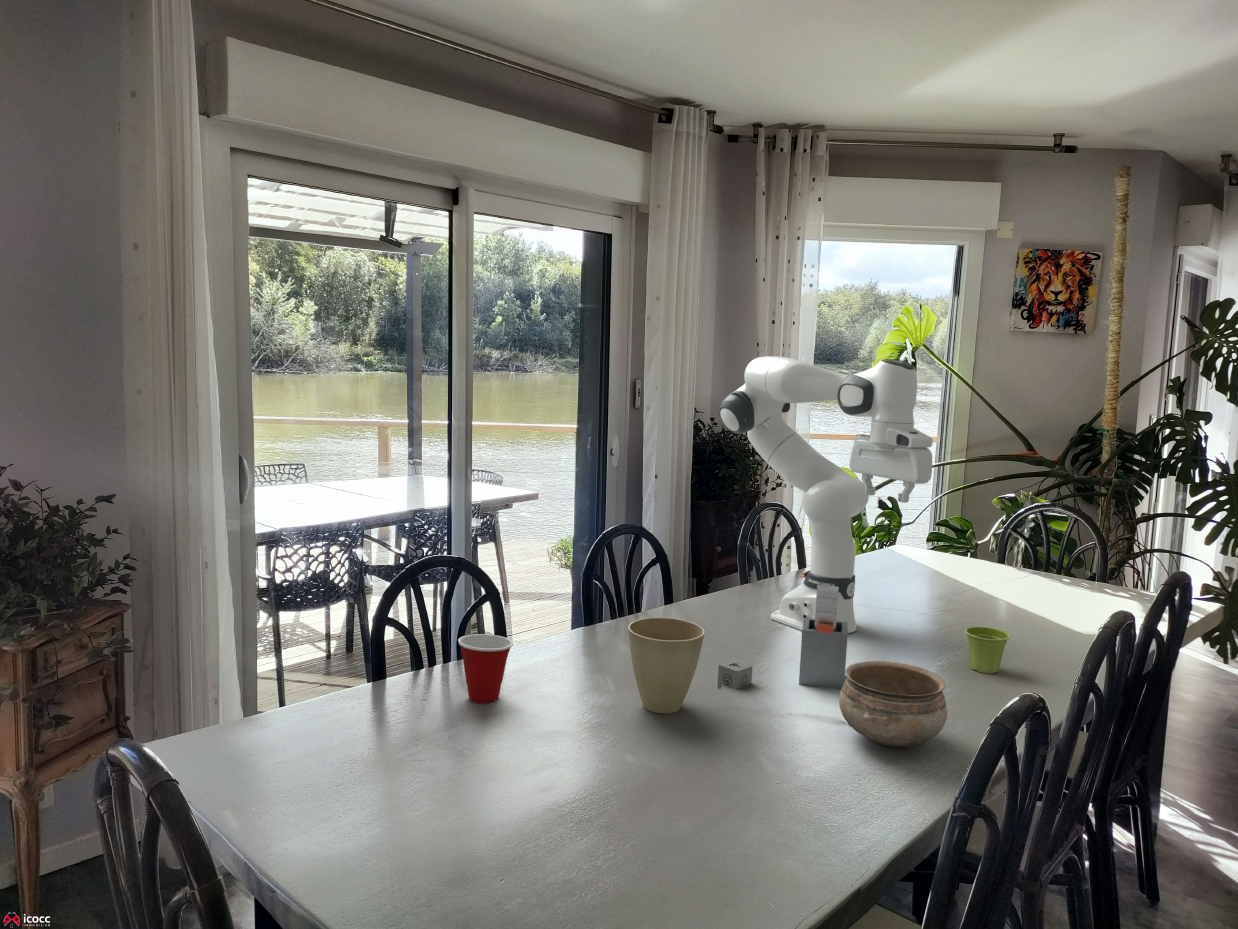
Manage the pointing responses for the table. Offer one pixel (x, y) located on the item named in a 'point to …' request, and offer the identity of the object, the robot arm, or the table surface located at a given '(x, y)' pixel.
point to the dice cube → (734, 674)
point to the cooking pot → (893, 703)
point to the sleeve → (823, 654)
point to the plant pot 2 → (986, 648)
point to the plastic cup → (484, 665)
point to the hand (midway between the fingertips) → (886, 498)
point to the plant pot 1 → (664, 660)
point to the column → (826, 605)
